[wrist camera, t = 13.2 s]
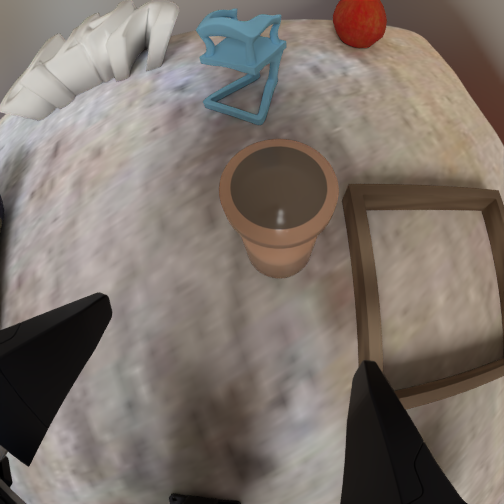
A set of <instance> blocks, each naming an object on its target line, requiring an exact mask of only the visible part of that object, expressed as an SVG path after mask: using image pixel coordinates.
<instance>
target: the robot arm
mask: <svg viewBox="0 0 504 504" xmlns="http://www.w3.org/2000/svg"><path fill="white" fill-rule="evenodd" d="M111 318H112V308H111V304H110V300H109V297H108V296H107V295H105V294H103V293H95V294H93V295H90V296H87V297H85V298H82V299H79V300H77V301H74V302H72V303H69V304H67V305H64V306H61V307H59V308H56V309H54V310H51V311H49V312H46V313H44V314H41V315H39V316H36V317H33V318H31V319H28V320H26V321H23V322H22V323H18V324H16V325H13V326H11V327H8V328H6V329H3V330H0V504H26V503H25V502H24V501H23V500H22V499H21V498H20V497H19V496H18V495H16V494H15V493H14V492H13V491H12V490H11V489H10V486H11V485H12V477H11V472H10V466H9V460H8V457H7V456H6V454H7V452H9V453H11V454H12V455H13V456H14V457H16V458H17V459H18V460H20V461H21V462H22V463H24V464H25V465H27V466H28V467H29V466H30V464H31V462H32V460H33V458H34V456H35V454H36V452H37V450H38V448H39V446H40V444H41V442H42V440H43V438H44V436H45V434H46V432H47V430H48V428H49V426H50V424H51V423H52V421H53V419H54V417H55V415H56V414H57V412H58V410H59V408H60V406H61V405H62V403H63V401H64V399H65V398H66V396H67V394H68V393H69V391H70V389H71V388H72V386H73V384H74V383H75V381H76V379H77V378H78V376H79V374H80V373H81V371H82V369H83V368H84V366H85V365H86V363H87V361H88V360H89V358H90V357H91V355H92V354H93V352H94V350H95V349H96V347H97V345H98V343H99V341H100V339H101V337H102V335H103V333H104V331H105V329H106V327H107V325H108V324H109V322H110V320H111ZM173 497H174V498H176V499H174V498H173ZM169 501H170V504H241V503H240V502H238V501H232V500H219V499H214V498H205V497H197V496H186V495H180V494H171V495H170V497H169ZM340 504H467V503H466V502H465V501H464V500H463V499H462V498H461V497H460V495H459V494H458V493H457V491H456V490H455V488H454V487H453V486H452V484H451V483H450V481H449V480H448V478H447V477H446V476H445V474H444V473H443V471H442V470H441V468H440V467H439V465H438V464H437V462H436V461H435V459H434V457H433V456H432V454H431V452H430V451H429V449H428V447H427V446H426V444H425V442H423V439H422V437H421V435H420V434H419V432H418V430H417V428H416V427H415V425H414V423H413V422H412V420H411V418H410V416H409V415H408V413H407V411H406V410H405V408H404V406H403V405H402V403H401V401H400V400H399V398H398V397H397V395H396V393H395V392H394V390H393V388H392V387H391V385H390V384H389V382H388V380H387V379H386V377H385V376H384V374H383V372H382V371H381V369H380V368H379V366H378V364H377V363H376V362H375V361H371V360H363V361H362V362H361V364H360V366H359V368H358V369H357V371H356V373H355V375H354V377H353V381H352V389H351V397H350V404H349V411H348V418H347V430H346V449H345V463H344V475H343V485H342V494H341V503H340Z"/></svg>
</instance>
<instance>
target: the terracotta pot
mask: <svg viewBox="0 0 504 504" xmlns="http://www.w3.org/2000/svg"><path fill="white" fill-rule="evenodd" d="M338 191H339V188H338V181H337V178H336V175H335V172H334V170H333V168H332V167H331V165H330V163H329V162H328V161H327V160H326V159H325V158H324V157H323V156H322V155H321V154H320V153H319V152H317V151H316V150H315V149H313V148H311V147H309V146H308V145H305V144H303V143H300V142H297V141H293V140H287V139H271V140H264V141H260V142H257V143H254V144H252V145H250V146H248V147H246V148H244V149H242V150H241V151H240V152H238V153H237V154H236V155H235V156H234V157H233V158H232V159H231V160H230V161H229V163H228V164H227V165H226V167H225V169H224V171H223V173H222V176H221V179H220V185H219V196H220V201H221V204H222V207H223V209H224V212H225V214H226V217H227V219H228V221H229V222H230V224H231V225H232V227H233V228H234V229H235V230H236V231H237V232H238V233H239V234H240V235H241V237H242V240H243V243H244V245H245V248H246V251H247V254H248V257H249V259H250V261H251V263H252V265H253V266H254V267H255V268H256V269H257V270H258V271H259V272H260V273H262V274H264V275H266V276H268V277H272V278H287V277H290V276H293V275H295V274H297V273H298V272H300V271H301V270H302V269H303V268H304V267H305V266H306V264H307V263H308V261H309V258H310V256H311V253H312V250H313V247H314V244H315V242H316V239H317V236H318V235H319V234H320V233H321V232H322V231H323V230H324V229H325V227H326V226H327V225H328V223H329V221H330V219H331V217H332V215H333V212H334V210H335V207H336V204H337V200H338Z"/></svg>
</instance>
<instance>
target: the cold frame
mask: <svg viewBox="0 0 504 504" xmlns="http://www.w3.org/2000/svg"><path fill="white" fill-rule="evenodd" d="M342 203H343V209H344V215H345V221H346V228H347V235H348V242H349V249H350V257H351V265H352V274H353V283H354V294H355V305H356V319H357V335H358V357H359V366H360V364H361V362H362V361H363V360H371V361H375V362H376V363H377V364H378V366H379V368H380V369H381V371H382V372H383V350H382V331H381V317H380V305H379V295H378V285H377V277H376V269H375V262H374V255H373V248H372V242H371V236H370V230H369V224H368V219H367V213H366V210H478V211H482V214H483V217H484V220H485V224H486V228H487V232H488V236H489V240H490V244H491V248H492V253H493V258H494V263H495V268H496V274H497V280H498V286H499V294H500V302H501V312H502V324H503V346H504V205H503V202H502V199H501V196H500V193H499V190H488V189H477V188H464V187H449V186H430V185H402V184H349V185H348V188H347V190H346V193H345V195H344V198H343V200H342ZM502 376H504V358H502V359H499V360H497V361H494V362H492V363H489V364H487V365H484V366H481V367H478V368H476V369H473V370H470V371H467V372H464V373H461V374H458V375H454V376H451V377H448V378H444V379H441V380H437V381H434V382H430V383H426V384H422V385H418V386H414V387H410V388H405V389H401V390H396V391H394V392H395V393H396V395H397V397H398V398H399V400H400V401H401V403H402V405H403V406H404V408H405V410H406V409H410V408H413V407H417V406H421V405H425V404H428V403H432V402H435V401H438V400H442V399H445V398H448V397H451V396H454V395H457V394H460V393H462V392H465V391H468V390H471V389H473V388H476V387H478V386H481V385H483V384H486V383H488V382H491V381H493V380H495V379H498V378H500V377H502Z"/></svg>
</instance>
